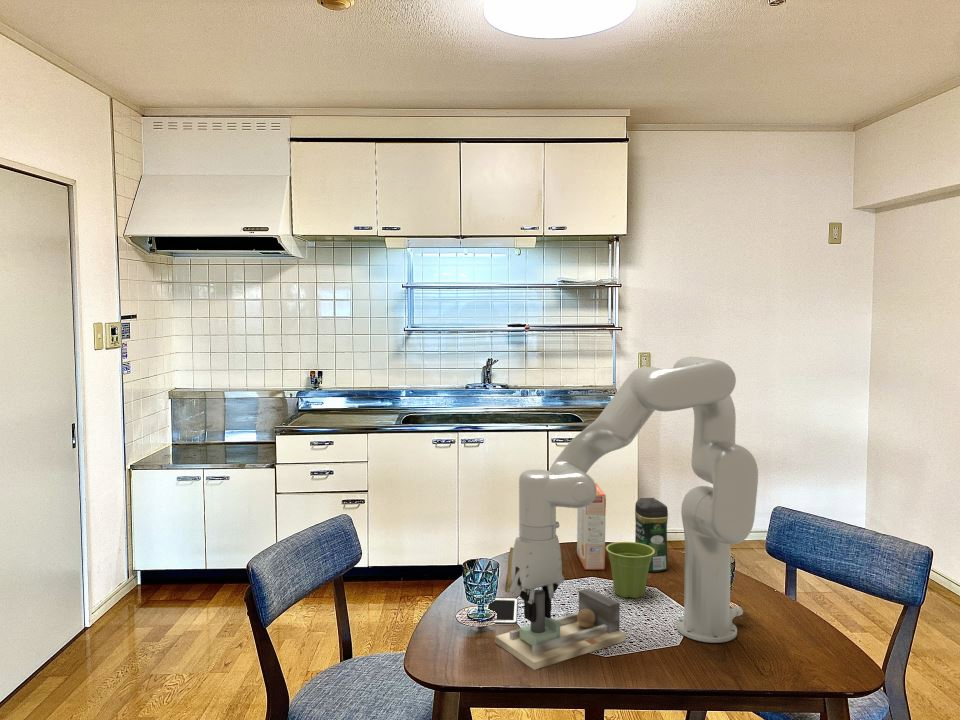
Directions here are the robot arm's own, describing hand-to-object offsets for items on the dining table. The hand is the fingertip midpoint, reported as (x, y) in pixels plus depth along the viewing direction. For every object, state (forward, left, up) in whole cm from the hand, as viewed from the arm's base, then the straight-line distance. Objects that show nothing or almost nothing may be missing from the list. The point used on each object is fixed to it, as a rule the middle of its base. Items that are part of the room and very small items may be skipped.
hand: (537, 617), depth 153 cm
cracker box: (-44, -35, -7) cm, 57 cm away
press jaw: (0, 0, -5) cm, 5 cm away
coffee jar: (-55, -23, -7) cm, 60 cm away
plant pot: (-37, -12, -7) cm, 40 cm away
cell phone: (-4, -20, -7) cm, 22 cm away
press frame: (-6, 0, -7) cm, 9 cm away
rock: (-18, -30, -7) cm, 36 cm away
